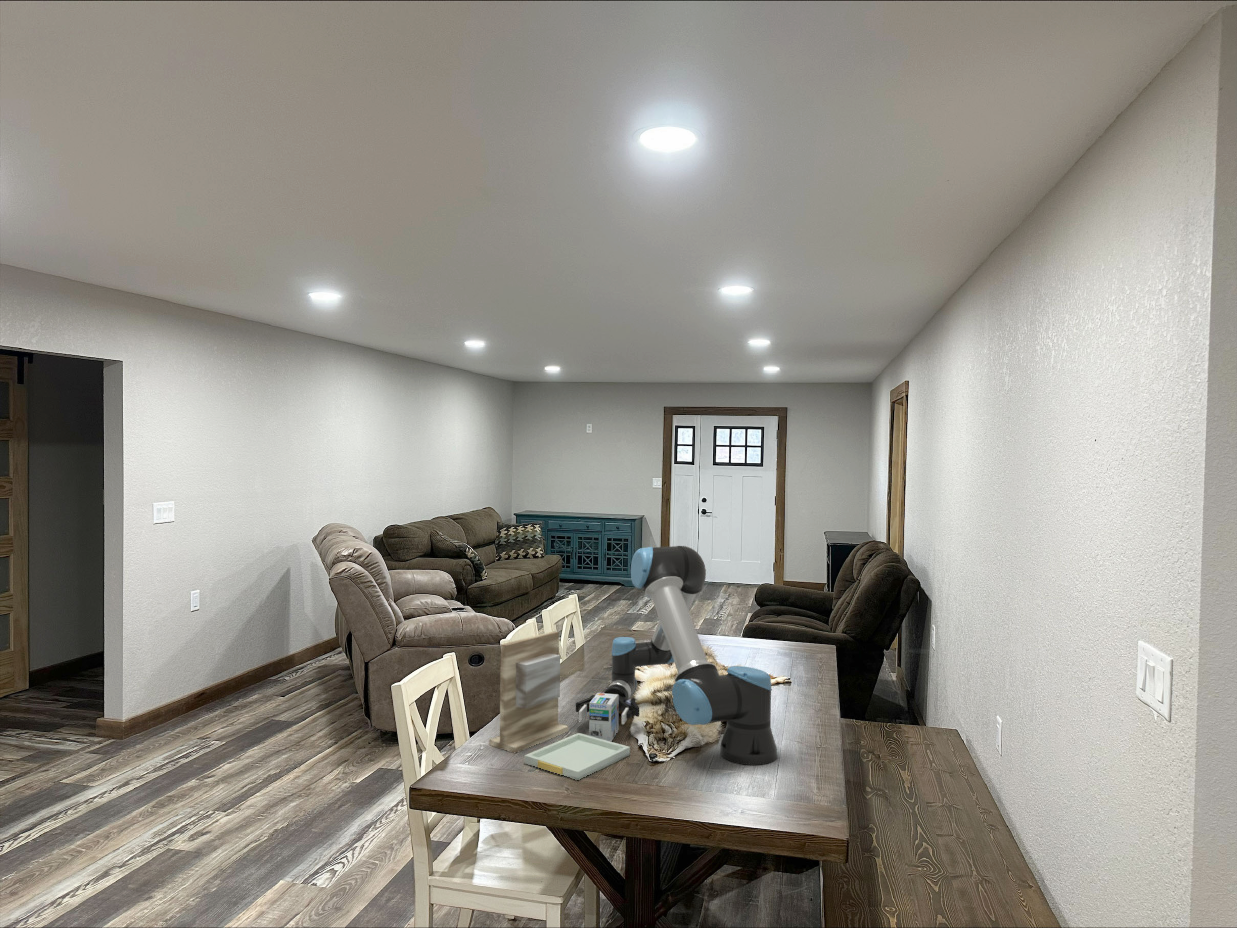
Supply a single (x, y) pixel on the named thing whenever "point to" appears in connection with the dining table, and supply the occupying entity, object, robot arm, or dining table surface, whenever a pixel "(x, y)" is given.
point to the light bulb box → (604, 716)
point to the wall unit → (529, 692)
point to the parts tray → (577, 756)
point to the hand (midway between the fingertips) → (601, 717)
